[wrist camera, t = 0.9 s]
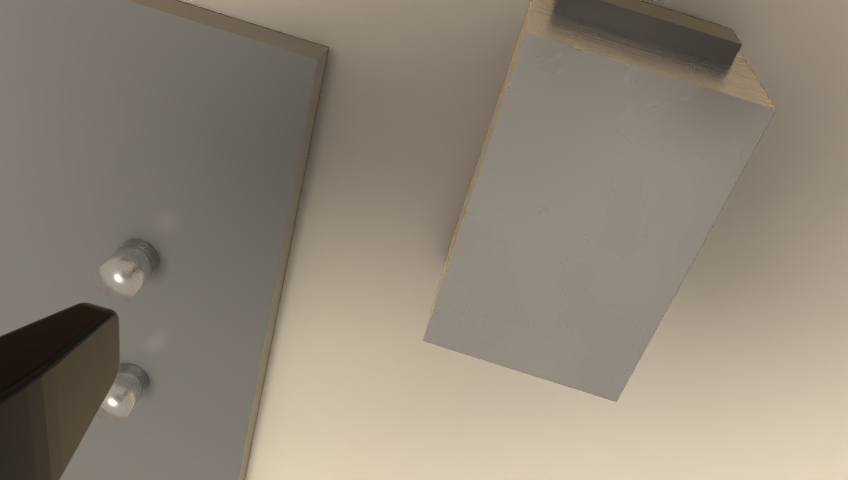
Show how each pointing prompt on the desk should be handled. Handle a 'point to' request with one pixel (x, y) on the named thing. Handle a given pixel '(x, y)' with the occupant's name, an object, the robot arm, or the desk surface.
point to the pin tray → (155, 211)
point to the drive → (595, 188)
